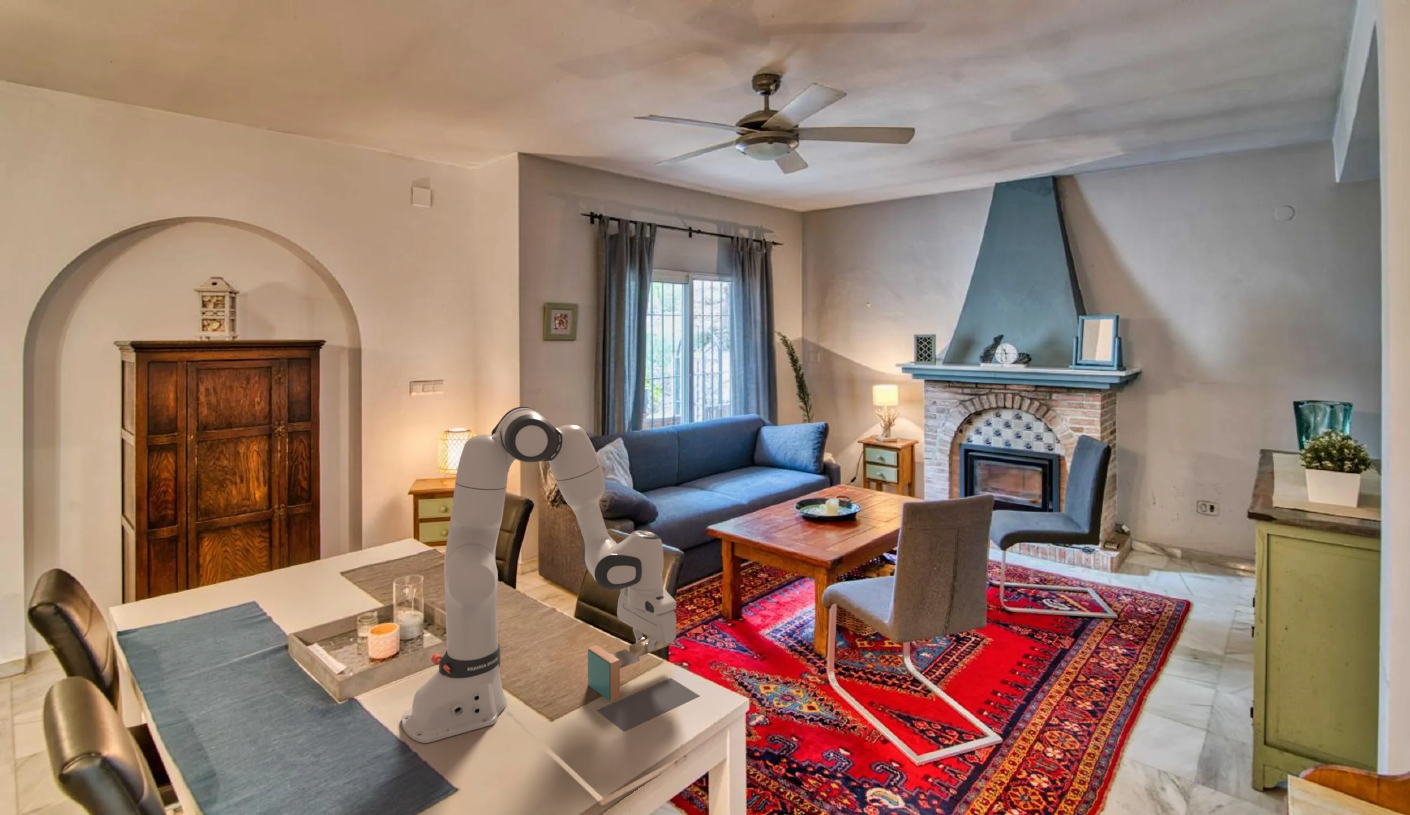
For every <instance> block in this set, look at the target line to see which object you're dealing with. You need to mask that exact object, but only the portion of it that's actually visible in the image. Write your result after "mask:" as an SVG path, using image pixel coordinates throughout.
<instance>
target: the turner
mask: <svg viewBox="0 0 1410 815" xmlns="http://www.w3.org/2000/svg"><path fill="white" fill-rule="evenodd" d="M648 641H649V639H648V638H647V639H646V638H645V640H644V641H641V642H638V643H636V642H635V643H634V644H630V645H629V650H627V649H626V648H624V649H622V650H619V651H616V652H614V653H610V654H611V655H613V656H615V657H616V658H618V659H619V660H620V669H623V668H624V667H625V668H626V667H628V666H630V665H633V664H635V663H637V662H640V657H642V656H644V655H648V654H650V653H653V652H655V651H658V650H661V649H663V648H666V647H669V646H670V645H671V644H670V643H671V642H670V643H667V644H661V643H660V642H658V641H656V642H655V644H654V650H653V651H651V652H649V651H647V650H645V643H648Z"/></svg>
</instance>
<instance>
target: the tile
mask: <svg viewBox="0 0 1410 815" xmlns="http://www.w3.org/2000/svg"><path fill="white" fill-rule="evenodd" d="M611 654H612V653H610V652H608V651H607V650H605V649H604V648H602V647H600V646H599V645H597V644H595V645H592V646H590V647H587V674H588V675H587V686H588V687H590V688H592V689H593V690H594V691H595V692H596V693H598V694H600V695H601V696H602V697H604V699H606V700H608V701H611V702H613V701H614V700H617V699H620V698H621V668H620V660H619V659H618V658H616V657H615V656H613V655H611Z"/></svg>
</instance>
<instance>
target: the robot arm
mask: <svg viewBox="0 0 1410 815" xmlns="http://www.w3.org/2000/svg"><path fill="white" fill-rule="evenodd" d="M516 460H517V461H519V462H523V463H537V462H538V463H539V462H541V463H542V462H547V463H548V464H549V466H550V468H551V472H552V474H553V477H554V480H555V483H556V485H557V487H558V490H559V491H560V493H561V496H562V497H563V499H564V501H565V502H566V504H567V505H568V506H569V507H570V508H571V510H572V511H573V514H574V515H575V517H576V522H577V524H578V527H579V531H580V534H581V536H582V540H583V541H582V542H583V543H582V555H581V556H582V558H581V560H582V564H583V566H584V567H585V568H586V570H587V571H588V572H589V574H591V576H592V577H593V579H594V581H595V582H596V584H598V586H599V587H600V588H601V589H603V590H607V591H619V590H620V594H619V596H618V601H617V606H616V607H617V609H616V610H617V611H616V615H617V619H618V620H619V621H620V622H623V623H624V624H626V625H627V626H629V627H631V628H632V632H633V635H634V638H635V643H638V642H641V641H644V640H646V638H645V637H644V635H645V636H647V639H649V641H648V643H645V650H647V651H649V652H650V653H652V652H651V651H653V650H654V644H655V642H656V641H658V642H660V643H661V644H667V643H672V642H674V640H675V639H676V637H677V615H676V613H675V611H674V610H676V609H677V601H676V599H674V597H673V596H671V594H670V593H669V592H668V591H667V590H666V588H665V587H664V580H663V570H664V546H663V542H662V539H661V538H660V537H659V536H658V534H655V533H654V532H651V531H648V530H639V529H638V530H634V531H632V532H631V533H630V534H629V535H628V536H627V537H626V538H624V539H623V540H621V541H620V542H617V541H616V539H614V537H612V536H611V535H610V534H609V532H608V530H607V529H608V528H607V527H606V523H605V520H604V517H603V513H602V511H601V507H600V499H602V497H603V495H604V494H605V491H606V483H605V476H604V472H603V469H602V468H603V467H602V465H601V462H600V459H599V457H598V454H597V452H596V450H595V447H594V445H593V443H592V441H591V439H590V438H589V436H588V434H587V432H586V431H585V429H584V428H583V427H581V426H579V425H576V424H565V425H564V424H563V425H561V426H559V427H555V426H554V425H552V423H550V422H549V421H548V420H547V418H546V417H545V416H544V415H543V414H542V413H540V412H539V411H537V410H535V409H534V408H532V407H528V406H517V407H514V408H512V409H510V410H508V411H507V412H506V413H505V414H504V415H502V418H500V419H499V421H498V422H497V424H496V426H495V427H494V428H493V429H492V431H491V433H490V434H478V435H475V436H472V437H470V438H469V439H467V440H466V442H465V444H463V448H462V451H461V455H460V457H459V462H458V465H457V470H456V474H455V475H456V477H455V483H454V489H453V498H452V504H451V505H452V506H451V514H450V520H449V521H450V522H449V527H448V533H447V537H446V538H447V539H446V545H445V552H444V559H443V560H444V564H443V565H444V569H443V570H444V574H443V575H444V601H445V625H446V626H445V627H446V629H445V632H446V650H445V653H444V655H443V656H441V655H440V654H439V653H433V654H432V655H431V657H430V660H431V662H432V663H433V664H434V665H436V666H438V670H437V671H436V672H435V673H434V674H433V675H432V676H431V677H430V678H429V679H428V680H427V681H426V682H425V683H424V684H422V685H421V686H420V687H419V688H418V689H416V692H415V694H414V696H413V699H412V700H413V701H412V706H411V709H408V710H405V712H404V713H403V714H402V716H401V727H402V729H403V731H404V733H406V735H407V736H408V737H410V738H411V739H412V740H414V741H416V742H419V743H422V744H428V743H432V742H436V741H440V740H443V739H446V738H450V737H453V736H456V735H460V734H464V733H467V732H472V731H474V730H478V729H482V728H486V727H489V726H492V725H494V724H496V722H497V720H498V716H499V715H500V714H501V713H502V712H503V710H505V708H506V706H507V697H506V695H505V693H504V690H503V683H502V680H501V674H500V673H501V672H500V667H501V648H500V647H501V645H500V644H499V641H498V640H499V639H498V637H499V636H498V635H499V634H498V597H499V595H498V593H499V588H498V587H499V586H498V585H499V576H498V574H499V571H498V568H497V562H496V561H497V560H496V549H497V545H498V544H497V543H498V538H499V533H500V529H501V526H502V523H503V522H502V521H503V515H504V508H505V500H506V494H507V486H508V485H507V484H508V475H509V472H510V468H511V467H512V465H513V463H514V461H516ZM653 652H654V651H653Z"/></svg>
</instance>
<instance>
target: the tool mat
mask: <svg viewBox="0 0 1410 815" xmlns="http://www.w3.org/2000/svg"><path fill="white" fill-rule="evenodd" d="M698 697H700V694H698V693H696V692H694V691H693V690H691V689H689V688H688V687H686V686H685V685H683V684H682V683H680V682H678V681H677V680H675V679H674V678H671V677H670V678H668V679H665V680H663V681H661V682H658V683H656V684H654V685H652V686H649V687H647V688H644V689H642V690H639V691H638V692H635V693H633V694H631V695H628V696H626V697H624V698H621V699H619V700H617V701H614V702H612V703H609V704H608V705H605V706H603V707H600V708H598V709H596V711H597V712H598V713H600V714H601V715H602V716H603V717H604V718H606V719H607V720H608V721H610V722H611V724H613V725H615V726H616V727H617V728H619V730H621V731H623V732H627V731H629V730H632V729H633V728H635V727H637V726H641V725H642V724H644V723H646V722H648V721H650V720H652V719H654V718H657V717H659V716H660V715H661V716H662V715H663V714H665V713H667V712H669V711H672V710H674V709H676V708H678V707H680V706H682V705H685V704H686V703H688V702H690V701H693V700H695V699H696V698H698Z"/></svg>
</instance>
